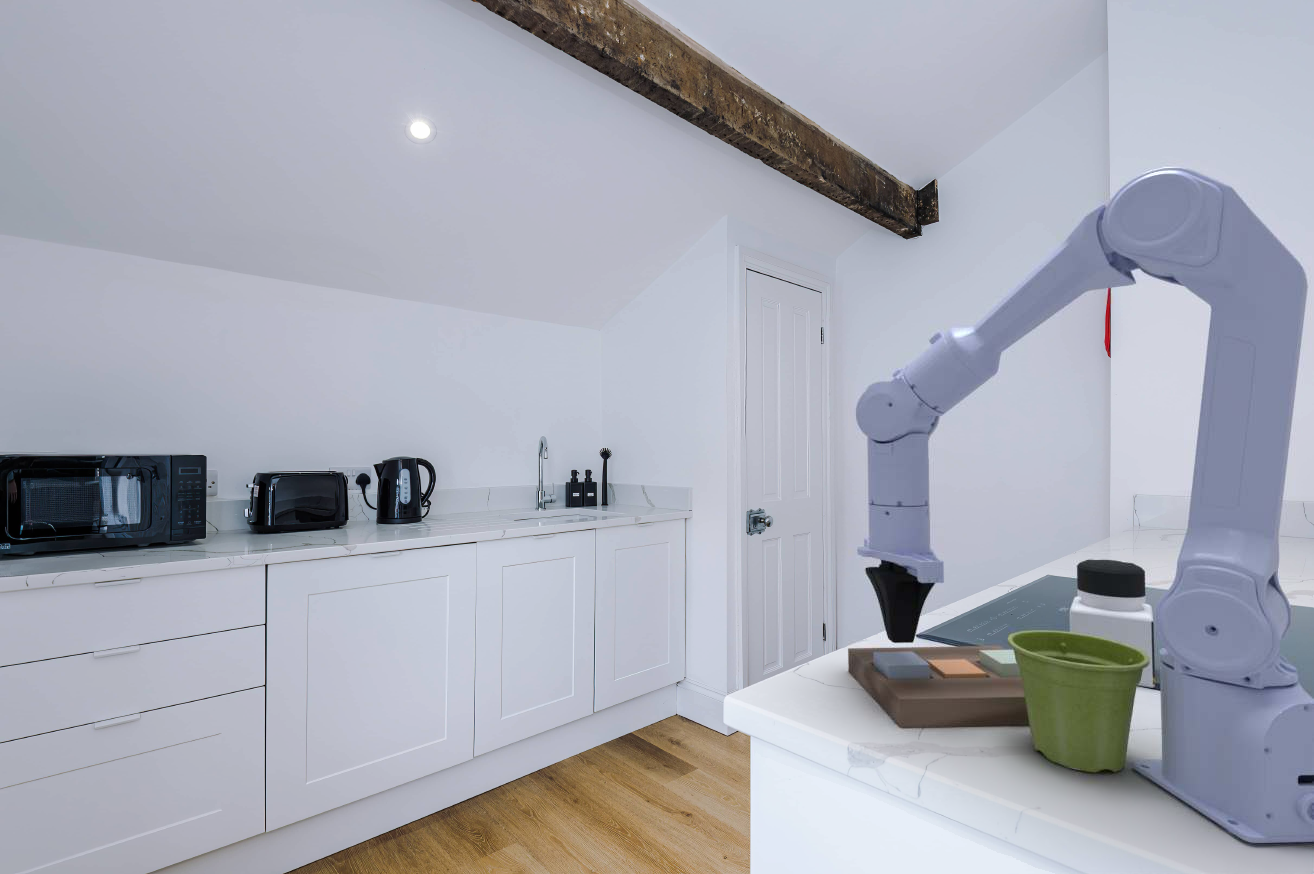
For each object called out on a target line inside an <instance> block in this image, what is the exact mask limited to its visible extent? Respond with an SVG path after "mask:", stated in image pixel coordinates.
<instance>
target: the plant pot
mask: <svg viewBox="0 0 1314 874" xmlns="http://www.w3.org/2000/svg"><path fill="white" fill-rule="evenodd" d="M1007 643H1008V646H1009V647H1011V648H1012V650H1014V654H1015V660H1016V662H1017V664H1018V665H1019V668H1020V673H1021V678H1022V684H1023V689H1024V695H1025V701H1026V707H1027V713H1028V719H1029V725H1028V726H1029V729H1030V736H1031V743H1032V747H1033V748H1034V749H1035V751H1036V752H1037V751H1038V752H1039V751H1040V752H1041V753H1042V754H1043V755H1044V757H1046V758H1047V759H1048V760H1049V761H1051V762H1054V763H1055V764H1058V765H1061V766H1064V767H1068V768H1071V769H1074V770H1078V771H1082V772H1087V773H1088V772H1089V773H1098V772H1100V771H1102V770H1110V771H1111V772H1114V773H1116V772H1119V771H1120V770H1123V768H1124V767H1125V765H1126V759H1127V752H1128V751H1127V750H1128V746H1129V744H1128V743H1129V738H1130V737H1129V736H1130V731H1131V723H1132V718H1133V712H1134V706H1135V705H1134V704H1135V699H1136V692H1137V686H1138V685H1137V684H1139V683H1140V681H1141V676H1142V671H1143V668H1146V667H1147V666H1148V665H1149V663H1150V658H1149V656H1148V655H1147V654H1146V653H1145V652H1143V651H1141V650H1139V649H1137V648H1135V647H1132V646H1130V645H1127V644H1124V643H1121V642H1117V641H1113V640H1109V639H1105V638H1101V637H1096V636H1091V635H1085V634H1079V633H1072V632H1070V631H1063V630H1045V629H1043V630H1038V629H1037V630H1036V629H1035V630H1034V629H1033V630H1032V629H1031V630H1022V631H1016V632H1013V633H1011V634H1009V635H1008V637H1007Z"/></svg>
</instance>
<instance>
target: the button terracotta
mask: <svg viewBox="0 0 1314 874" xmlns="http://www.w3.org/2000/svg"><path fill="white" fill-rule="evenodd" d="M927 663H928V664H929V665H930V668H931V669H932V670H934V671H935V672H936V673H938V674H939V675H940V676H942V677H943V678H987V675H986V673H985V672H984V671H982V670H981V669H979V668H978V667H976V666H975V665H973V664H972V663H970V662H968V661H967V660H965V659H955V660H927Z"/></svg>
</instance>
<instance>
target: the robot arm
mask: <svg viewBox="0 0 1314 874" xmlns="http://www.w3.org/2000/svg"><path fill="white" fill-rule="evenodd" d="M1136 270H1141V272H1143V273H1144V274H1145V275H1147V276H1149V277H1152V278H1155V279H1157V280H1160V281H1164V282H1167V283H1170V284H1174V285H1178V286H1181V287H1185V289H1187V290H1188V291H1189V292H1191V293H1192V294H1194V295H1195V296H1196V297H1198V298H1199V299H1200V300H1202V301H1204V302H1205V303H1206V304H1208V305H1209V306H1210V319H1209V326H1208V327H1209V328H1208V336H1207V337H1208V338H1207V345H1206V356H1205V362H1204V363H1205V365H1204V372H1203V373H1204V375H1203V384H1202V393H1201V403H1200V410H1199V420H1198V421H1199V422H1198V427H1197V436H1196V437H1197V438H1196V448H1195V455H1194V456H1195V457H1194V466H1193V474H1192V475H1193V476H1192V484H1191V485H1192V486H1191V493H1190V502H1189V511H1188V512H1189V513H1188V519H1187V520H1188V521H1187V529H1186V532H1185V536H1184V539H1183V541H1182V544H1181V548H1180V551H1179V554H1178V557H1177V563H1176V564H1177V565H1176V572H1175V577H1174V579H1173V582H1172V584H1171V586H1170V587H1169V588H1168V589H1167V590H1166V591H1165V592H1164V594H1163V595H1162V596H1161V597H1159V600H1157V603H1156V605H1155V606H1154V607H1155V608H1154V610H1153V621H1154V630H1155V634H1156V636H1157V638H1158V640H1159V642H1160V643H1161V644H1162V646H1163V647H1162V648H1160V649H1159V650H1158V651H1159V652H1158V653H1159V679H1160V680H1159V682H1160V716H1161V717H1160V720H1161V723H1160V724H1161V725H1160V727H1161V757H1162V759H1135V760H1134V759H1133V760H1131V768H1133V769H1134V770H1135V771H1137V772H1139V773H1140V774H1141V775H1143V776H1144V777H1146V778H1147V779H1149V780H1151V781H1152V782H1154V783H1155V784H1157V785H1158V786H1160V787H1162V788H1163V789H1164V790H1165V791H1168V792H1169V793H1171V794H1172V795H1174V796H1175V797H1177V798H1179V800H1182V801H1183V802H1185V803H1186V804H1188V805H1189V806H1191V807H1192V808H1193V809H1195V810H1197V811H1198V812H1199V813H1201V814H1202V815H1204V816H1206V817H1207V818H1209V819H1210V820H1212V821H1214V822H1215V823H1217V824H1218V825H1219V826H1221V827H1223V828H1224V829H1225V830H1227V831H1228V832H1230V833H1232V834H1233V835H1235V836H1236V837H1238V838H1240V839H1241V840H1243V841H1244V842H1248V843H1250V844H1252V843H1253V844H1271V843H1276V844H1277V843H1280V844H1281V843H1312V842H1314V698H1313V697H1312V696H1311V695H1310V694H1308V693H1307V692H1306V691H1305V689H1304V688H1303V687H1302V686H1301V684H1300V683H1299V681H1298V680H1299V673H1298V669H1297V668H1296V667H1295V666H1294V665H1291V663H1290V662H1289V660H1287V658H1286V657H1285V656H1284V655H1283V654H1282V652H1281V651H1279V650H1280V648H1281V640H1282V639H1283V638H1285V635H1286V634H1287V632H1288V631H1289V629H1290V626H1291V624H1292V619H1293V618H1292V617H1293V615H1292V607H1291V604H1290V601H1289V599H1288V597H1287V596H1286V594H1285V592H1284V590H1283V589H1282V586H1281V583H1280V580H1279V564H1280V546H1279V542H1280V540H1279V539H1280V538H1279V536H1280V535H1279V533H1280V525H1281V520H1282V519H1281V517H1282V509H1283V500H1284V492H1285V482H1286V475H1287V468H1288V467H1287V466H1288V465H1287V464H1288V457H1289V449H1290V442H1291V441H1290V440H1291V432H1292V425H1293V415H1294V407H1295V399H1296V388H1297V381H1298V372H1299V365H1300V356H1301V347H1302V338H1303V331H1304V322H1305V313H1306V306H1307V305H1306V304H1307V295H1308V287H1309V286H1308V285H1309V284H1308V279H1307V273H1306V272H1305V269H1304V266H1302V264H1301V262H1300V261H1299V260H1298V259H1297V258H1296V257H1295V256H1294V255H1293V254H1292V253H1291V251H1290V250H1289V249H1288V248H1287V247H1286V245H1284V244H1283V243H1282V242H1281V240H1280V239H1278V237H1277V236H1276V235H1275V234H1274V233H1273V232H1272V231H1271V230H1270V229H1269V228H1268V227H1267V225H1266V224H1264V222H1263V221H1262V220H1261V219H1260V218H1259V217H1258V216H1257V215H1256V214H1255V213H1254V211H1253V210H1252V209H1251V208H1250V207H1249V206H1248V205H1247V203H1246V202H1245V201H1244V200H1243V198H1242V197H1240V195H1239V194H1238V192H1236V190H1235V189H1234V188H1233V187H1232V186H1230V185H1228V184H1226V183H1225V182H1222V181H1220V180H1217V179H1215V178H1213V177H1210V176H1208V175H1207V174H1206V175H1205V174H1203V173H1201V172H1198V171H1196V170H1193V169H1191V168H1188V167H1181V166H1165V167H1160V168H1154V169H1152V170H1149V171H1148V170H1147V171H1146V172H1144V173H1141V174H1139V175H1137V176H1136V177H1134V178H1133V179H1131V180H1129V181H1128V182H1126V183H1125V184H1124V185H1122V186H1121V187H1120V189H1118V190H1117V191H1116V192H1115V194H1114V195H1113V196H1112V197H1111V199H1110V201H1109V202H1108V204H1107V205H1106V204H1105V203H1102V204H1100V205H1099V206H1097V207H1096V208H1094V209H1093V210H1092V211H1090V212H1089V213H1087V214H1086V215H1085V216H1084V217H1083V218H1082V219H1081V221H1080V222H1079V223H1078V224H1077V226H1076V227H1075V228H1074V229H1073V230H1072V232H1071V233H1070V234H1069V235H1068V237H1067V238H1066V239H1065V240H1064V241H1063V242H1062V243H1061V244H1060V245H1059V246H1058V247H1057V248H1056V249H1055V250H1054V251H1053V252H1052V253H1051V254H1050V255H1048V256H1047V257H1046V258H1045V259H1044V260H1043V261H1042V262H1041V263H1040V264H1039V265H1038V266H1037V267H1035V269H1033V270H1032V271H1031V272H1030V273H1029V274H1028V275H1027V276H1026V277H1024V279H1023V280H1022V281H1021V282H1019V284H1017V285H1016V286H1015V287H1014V288H1013V289H1012V290H1011V291H1010V292H1009V293H1008V294H1006V296H1005V297H1003V298H1002V299H1001V300H1000V301H999V302H998V303H997V304H996V305H995V306H994V307H992V309H991V310H989V311H988V312H987V313H986V314H985V315H984V316H983V317H982V318H981V319H980V320H978V321H977V323H975V324H974V325H973V326H970V327H969V326H968V327H966V326H965V327H964V326H963V327H961V326H960V327H959V326H957V327H951V328H950V329H949V330H947V331H946V332H943V331H937V332H936V333H935V334H934V335H932V336H931V337H930V338H929V339H928V340H929V343H930V344H931V345H930V346H929V347H928V348H927V349H925V351H923V352H922V353H921V354H920V355H919V356H917V357H916V358H915V359H914V360H912V362H911V363H909V364H908V365H907V366H906V367H905V368H900V367H899V368H897V370H895V371H894V372H893V373H892V376H893V378H892V380H889V381H887V380H881V381H876V382H873V383H871V384H869V385H868V386H867V388H866V389H865V391H864V392H863V393H862V394H861V395H860V398H859V399H858V401H857V403H856V409H855V418H856V419H855V420H856V423H857V426H858V427H859V429H860V430H861V432H862V433H863V434H864V435H865V436H866V439H867V489H868V490H867V493H868V494H867V497H868V498H867V499H868V500H867V501H868V537H863V546H859V547H857V551H856V552H857V555H858V556H861V557H864V558H873V559H876V560H877V559H878V560H880V564H878V566H868V567H865V569H864V570H865V575H866V576H867V578H868V580H869V581H870V583H871V585H872V587H873V589H874V592H875V595H876V597H877V601H878V604H879V607H880V612H881V616H882V621H883V625H884V629H885V632H886V633H885V634H886V636H887V639H888V640H889V641H890V642H892V643H894V644H905V643H907V644H908V643H910V644H911V643H914V641H915V638H916V635H917V630H918V626H919V622H920V617H921V613H922V610H923V607H924V605H925V603H926V599H927V597H928V596H929V594H930V592H931V590H932V589H933V587H934V586H935V585H936V584H940V583H941V584H942V583H944V582H945V578H944V577H945V576H944V575H945V574H944V573H945V572H944V570H945V569H944V560H942V559H939V558H938V557H937V556H936V553H935V552H934V550H933V549H932V548H931V520H930V519H931V516H930V515H931V512H930V508H931V507H930V470H929V469H930V465H929V462H930V460H929V441H930V438H931V436H932V435H933V433H934V431H936V429H937V428H938V425H939V422H940V417H942V416H944V415H945V414H946V413H948V412H949V411H950V410H951V409H953V408H954V407H955V406H956V405H958V404H960V402H961V401H963V400H964V399H966V398H968V396H969V395H971V394H972V393H973V392H974V391H976V390H977V389H978V388H980V387H981V386H983V385H984V384H985V383H986V382H987V381H989V380H990V379H992V378H993V377H994V376H995V375H997V373H998V372H999V367H1000V361H1001V355H1002V353H1003V352H1004V351H1006V350H1007V349H1008V348H1009V347H1012V346H1013V345H1014V344H1015V343H1017V342H1018V341H1019V340H1021V339H1022V338H1024V337H1025V336H1026V335H1029V333H1031V332H1032V331H1034V330H1035V329H1036V328H1037V327H1039V326H1040V325H1042V324H1043V323H1045V322H1046V321H1047V320H1048V319H1050V318H1051V317H1053V316H1054V315H1056V314H1057V313H1058V312H1060V311H1061V310H1063V309H1064V308H1065V307H1067V306H1068V305H1069V304H1072V302H1074V301H1075V300H1077V299H1078V298H1079V297H1081V296H1083V294H1085V293H1087V292H1090V291H1095V290H1096V291H1097V290H1103V289H1110V288H1111V289H1113V288H1120V287H1126V286H1127V287H1128V286H1132V285H1135V284H1137V280H1136V279H1135V277H1134V274H1133V272H1132V271H1136Z"/></svg>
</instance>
